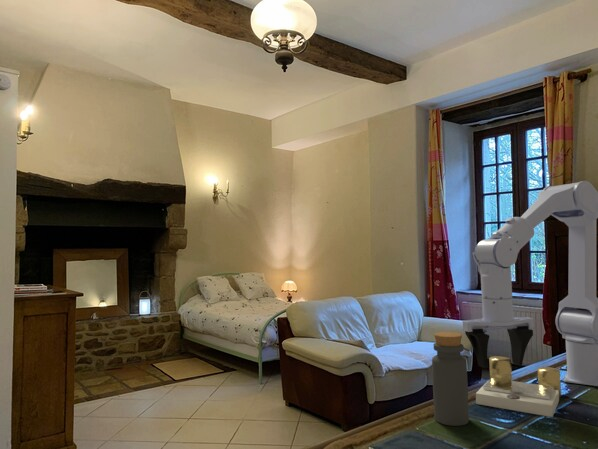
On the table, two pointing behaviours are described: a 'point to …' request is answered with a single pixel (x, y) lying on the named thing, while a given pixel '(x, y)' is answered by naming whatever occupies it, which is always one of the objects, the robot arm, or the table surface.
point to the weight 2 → (549, 378)
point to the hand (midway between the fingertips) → (500, 365)
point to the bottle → (450, 380)
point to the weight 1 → (500, 371)
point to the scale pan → (523, 389)
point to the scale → (518, 402)
